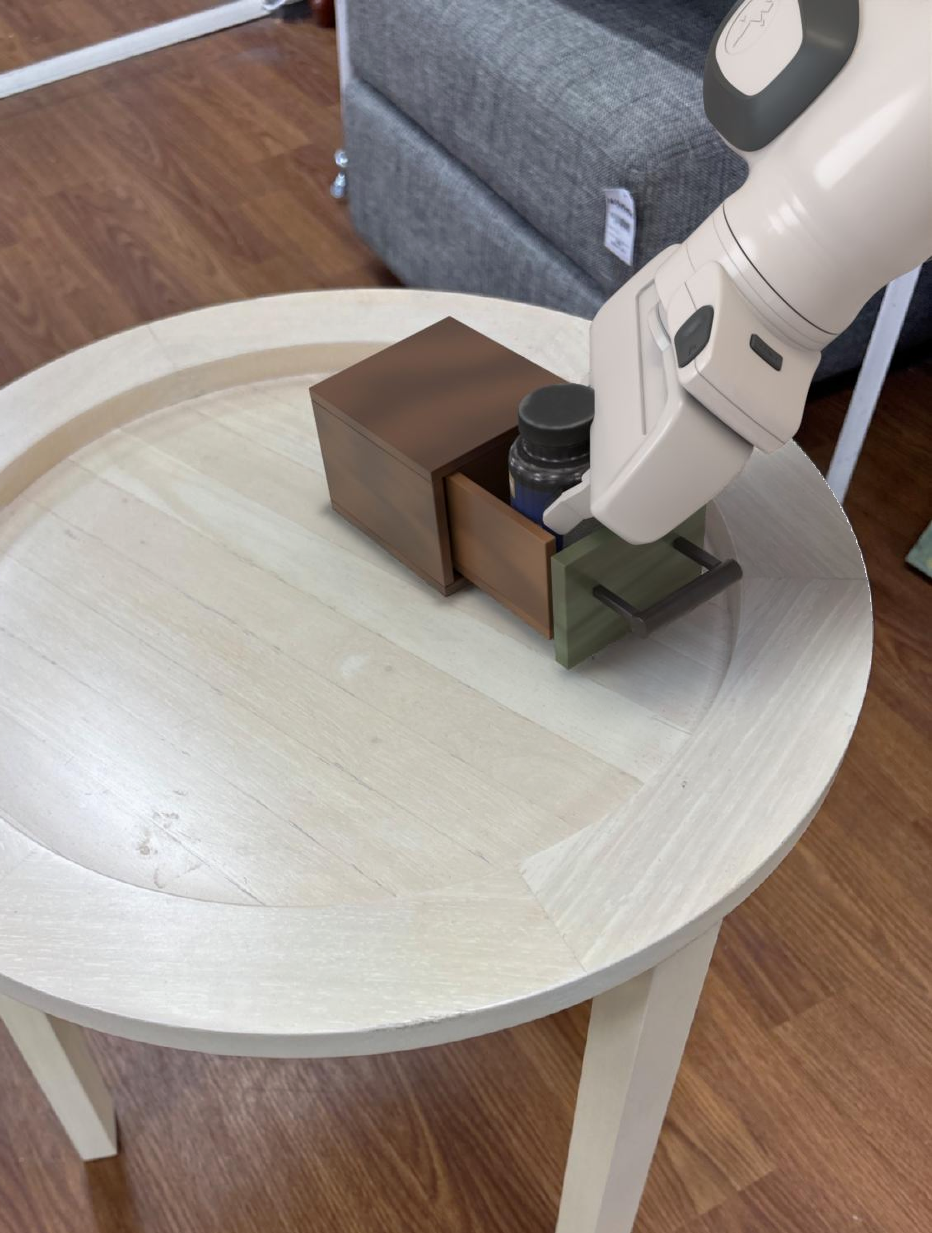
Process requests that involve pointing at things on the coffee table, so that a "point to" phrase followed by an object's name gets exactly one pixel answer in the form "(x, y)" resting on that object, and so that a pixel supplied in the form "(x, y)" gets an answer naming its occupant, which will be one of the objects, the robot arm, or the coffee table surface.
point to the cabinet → (418, 435)
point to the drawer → (574, 566)
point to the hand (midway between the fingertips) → (552, 483)
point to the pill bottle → (552, 452)
